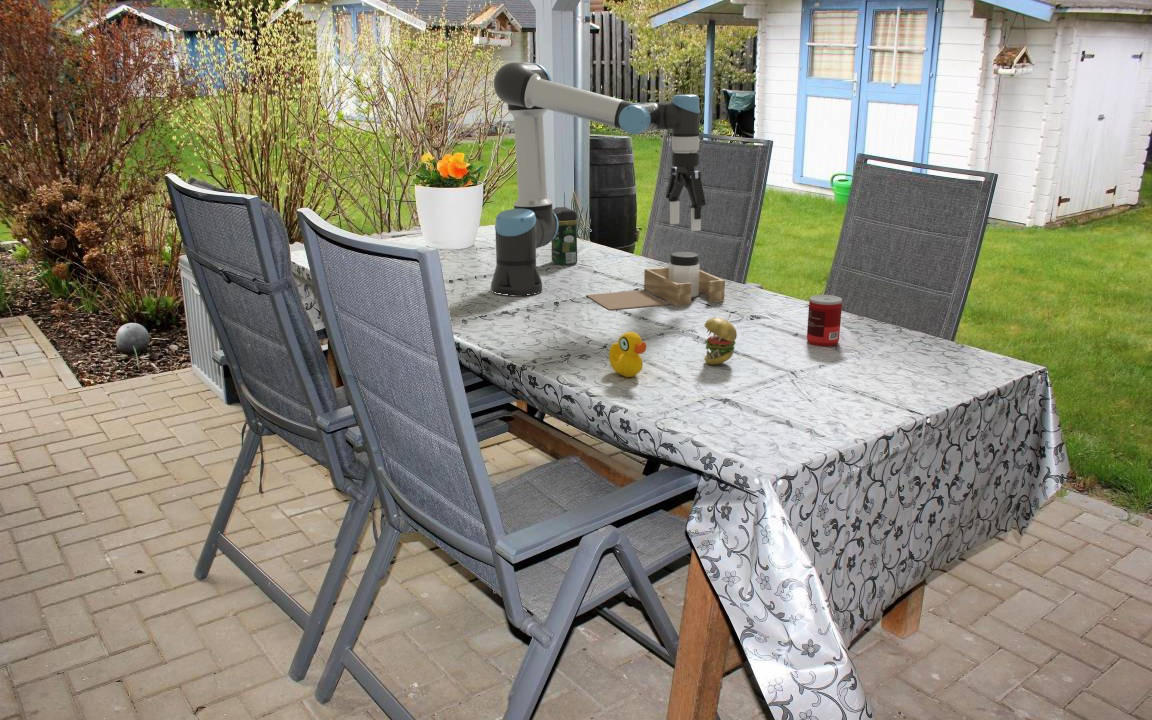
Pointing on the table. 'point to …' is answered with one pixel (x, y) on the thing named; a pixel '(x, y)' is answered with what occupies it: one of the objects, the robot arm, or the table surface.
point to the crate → (682, 286)
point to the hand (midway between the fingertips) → (684, 227)
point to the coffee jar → (565, 237)
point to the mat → (627, 300)
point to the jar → (685, 269)
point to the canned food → (824, 320)
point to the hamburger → (720, 340)
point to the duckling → (627, 354)
